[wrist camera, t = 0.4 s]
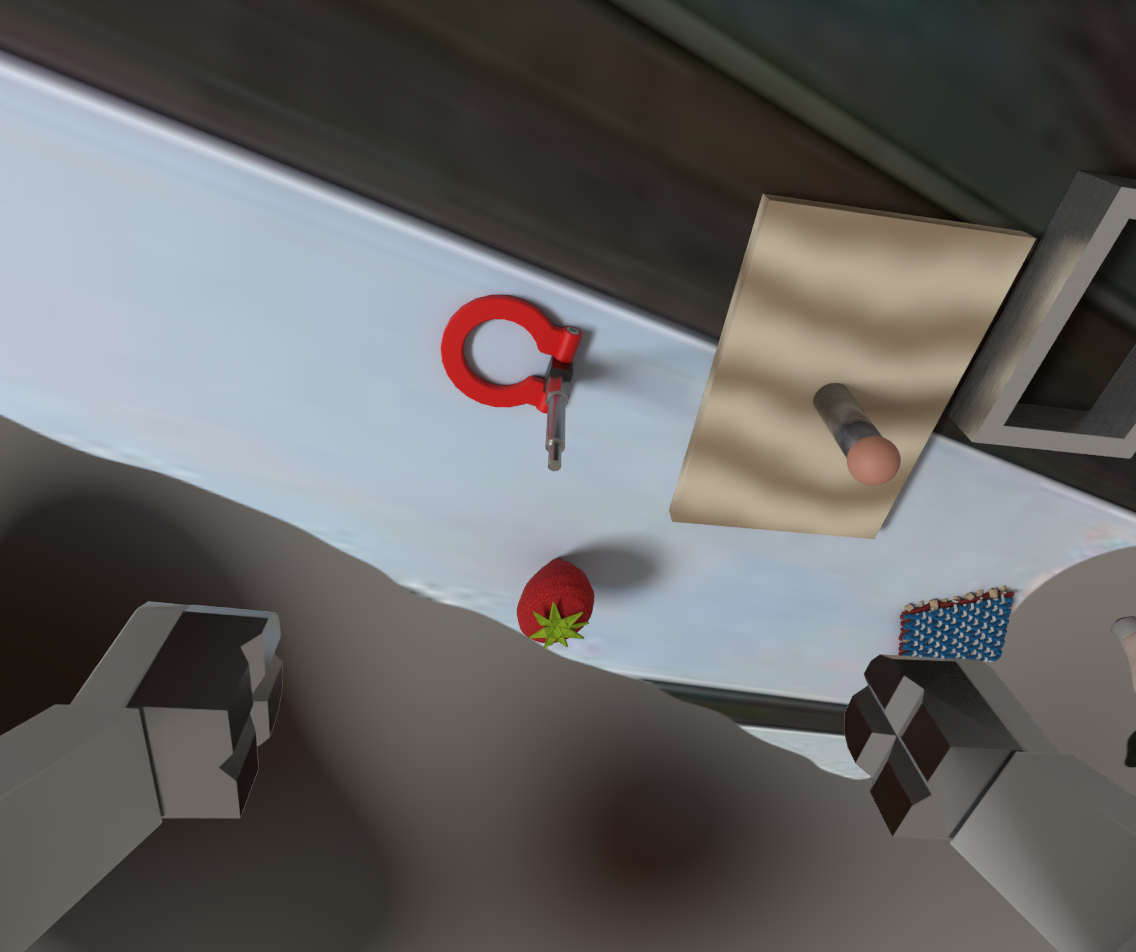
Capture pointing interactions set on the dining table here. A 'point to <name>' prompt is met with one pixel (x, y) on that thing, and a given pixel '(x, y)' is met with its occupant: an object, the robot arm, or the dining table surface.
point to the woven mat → (957, 627)
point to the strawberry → (555, 603)
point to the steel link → (1054, 335)
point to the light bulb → (1127, 641)
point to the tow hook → (533, 390)
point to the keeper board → (837, 363)
